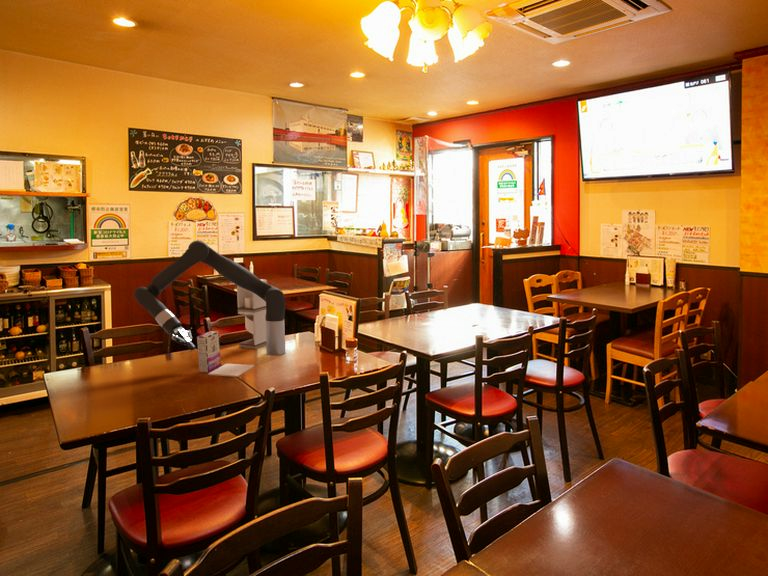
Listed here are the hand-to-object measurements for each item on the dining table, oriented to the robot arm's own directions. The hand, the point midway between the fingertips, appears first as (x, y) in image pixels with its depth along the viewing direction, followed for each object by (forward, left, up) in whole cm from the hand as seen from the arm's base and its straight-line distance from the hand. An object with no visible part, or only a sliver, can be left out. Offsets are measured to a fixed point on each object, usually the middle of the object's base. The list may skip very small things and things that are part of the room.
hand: (193, 349), depth 242 cm
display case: (-45, +7, -9) cm, 46 cm away
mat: (0, +19, -9) cm, 21 cm away
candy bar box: (0, +8, -9) cm, 12 cm away
